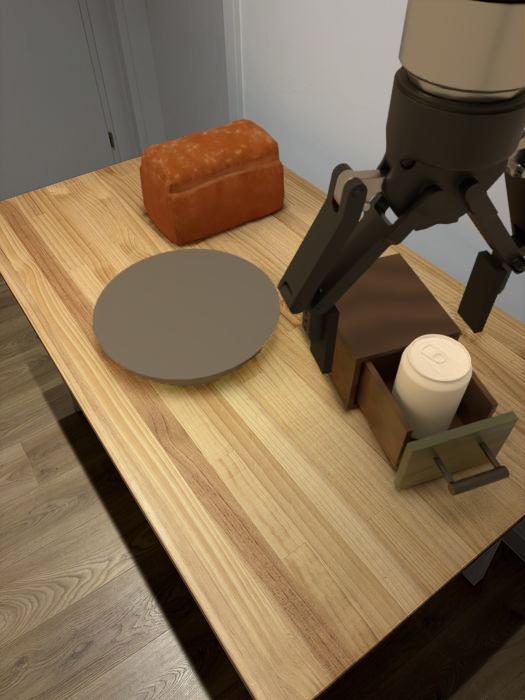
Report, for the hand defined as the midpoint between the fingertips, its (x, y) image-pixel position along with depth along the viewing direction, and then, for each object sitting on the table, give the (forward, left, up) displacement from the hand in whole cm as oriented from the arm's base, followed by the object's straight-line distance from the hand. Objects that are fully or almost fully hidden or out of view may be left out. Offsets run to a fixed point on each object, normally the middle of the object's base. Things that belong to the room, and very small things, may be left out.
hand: (397, 341), depth 45 cm
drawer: (+5, -12, -28) cm, 30 cm away
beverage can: (+7, -12, -27) cm, 30 cm away
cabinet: (+21, -12, -29) cm, 37 cm away
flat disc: (+35, +12, -29) cm, 47 cm away
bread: (+65, 0, -29) cm, 71 cm away
